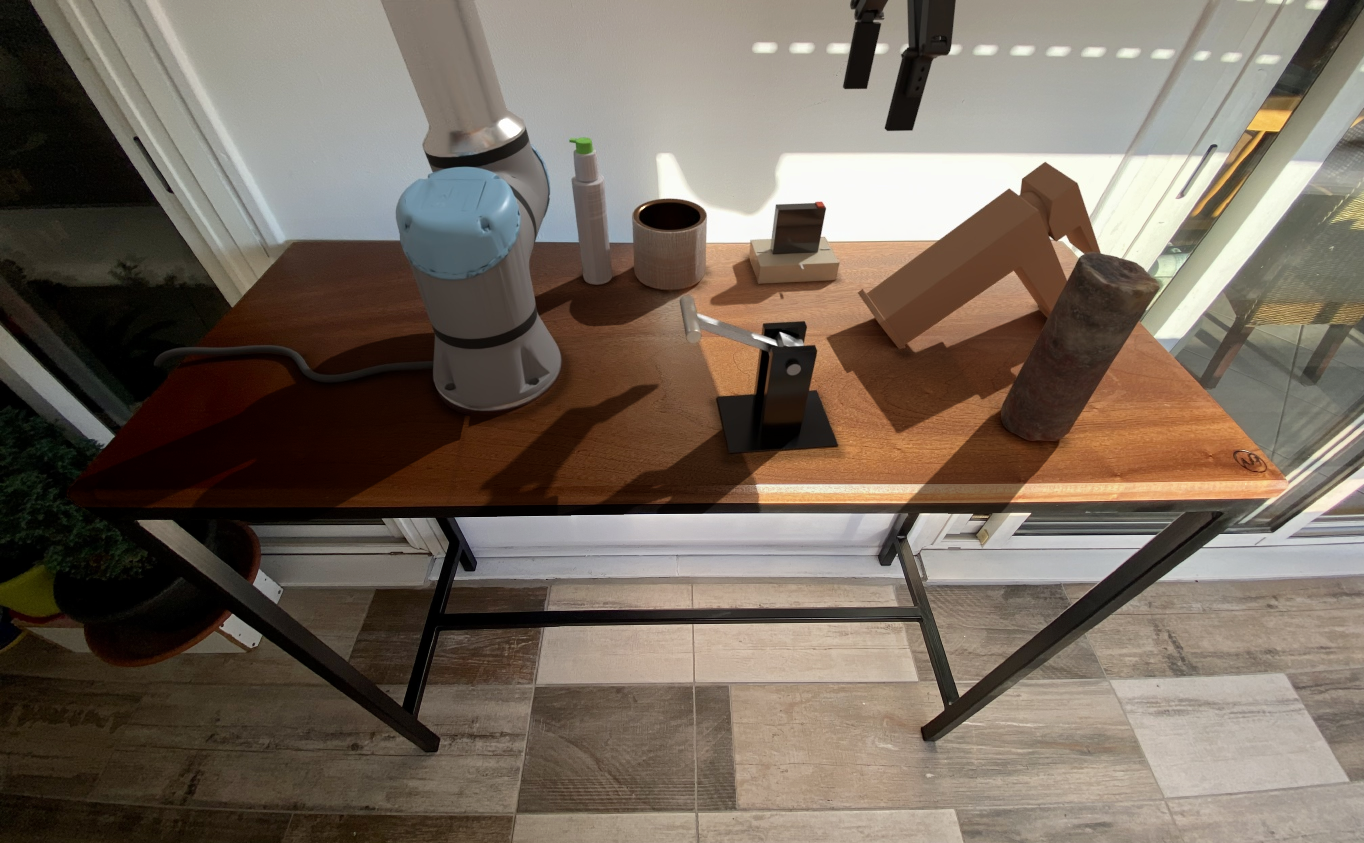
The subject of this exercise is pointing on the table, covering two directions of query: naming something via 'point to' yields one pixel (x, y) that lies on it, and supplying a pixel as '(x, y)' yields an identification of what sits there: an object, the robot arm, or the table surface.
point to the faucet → (988, 256)
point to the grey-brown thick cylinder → (1077, 345)
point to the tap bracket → (778, 401)
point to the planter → (669, 243)
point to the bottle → (591, 214)
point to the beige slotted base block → (792, 263)
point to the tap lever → (727, 329)
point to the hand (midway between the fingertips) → (874, 107)
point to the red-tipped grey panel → (797, 228)
